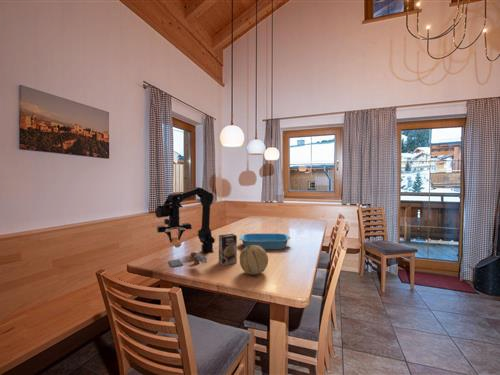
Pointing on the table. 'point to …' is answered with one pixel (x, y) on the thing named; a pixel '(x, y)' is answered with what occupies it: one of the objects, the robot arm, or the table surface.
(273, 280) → the table surface
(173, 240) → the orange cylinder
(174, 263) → the mat
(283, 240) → the casserole dish
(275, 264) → the table surface
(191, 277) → the table surface
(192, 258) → the clamp blocks
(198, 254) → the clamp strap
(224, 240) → the coffee box
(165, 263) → the table surface
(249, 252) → the cantaloupe
